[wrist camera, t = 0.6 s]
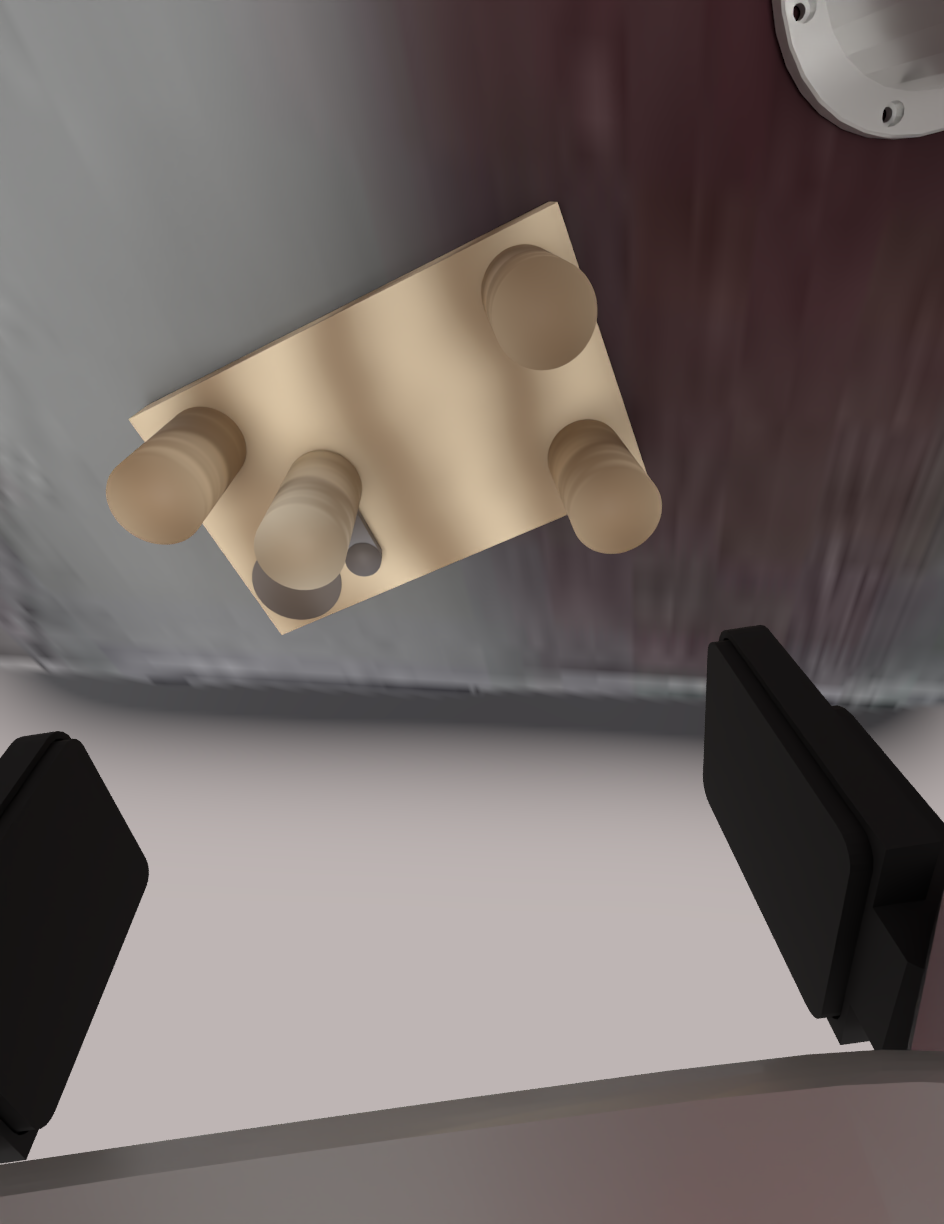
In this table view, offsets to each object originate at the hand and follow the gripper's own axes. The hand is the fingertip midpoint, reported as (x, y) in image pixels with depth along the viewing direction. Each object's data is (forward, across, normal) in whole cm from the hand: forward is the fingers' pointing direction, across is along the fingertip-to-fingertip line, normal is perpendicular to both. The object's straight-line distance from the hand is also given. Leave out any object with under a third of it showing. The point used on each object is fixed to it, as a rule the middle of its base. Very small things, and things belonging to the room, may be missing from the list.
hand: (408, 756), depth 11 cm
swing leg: (+25, +5, +5) cm, 26 cm away
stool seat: (+27, +1, +3) cm, 27 cm away
